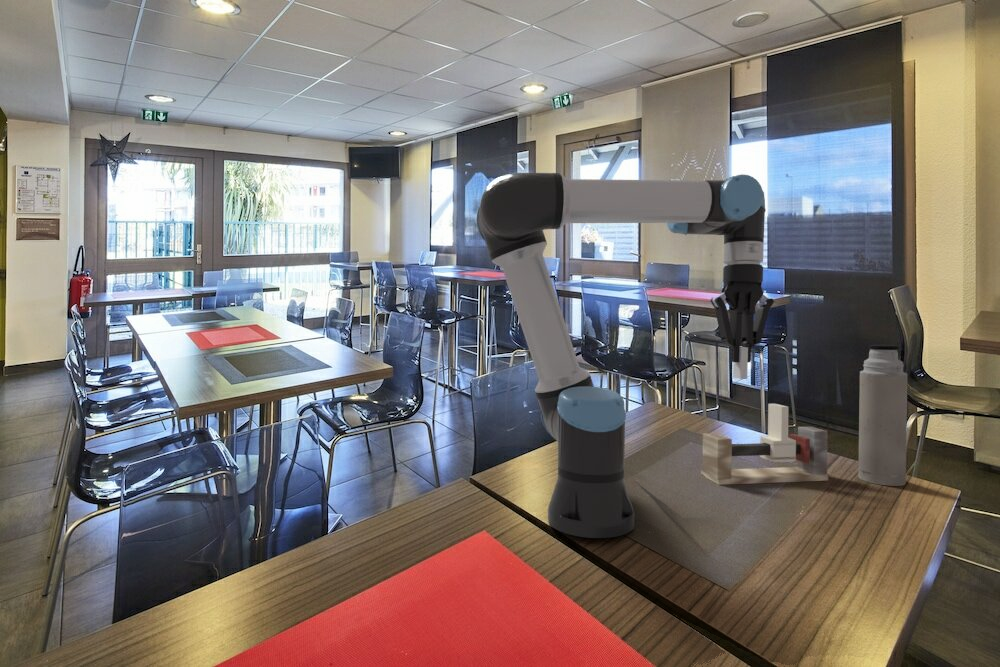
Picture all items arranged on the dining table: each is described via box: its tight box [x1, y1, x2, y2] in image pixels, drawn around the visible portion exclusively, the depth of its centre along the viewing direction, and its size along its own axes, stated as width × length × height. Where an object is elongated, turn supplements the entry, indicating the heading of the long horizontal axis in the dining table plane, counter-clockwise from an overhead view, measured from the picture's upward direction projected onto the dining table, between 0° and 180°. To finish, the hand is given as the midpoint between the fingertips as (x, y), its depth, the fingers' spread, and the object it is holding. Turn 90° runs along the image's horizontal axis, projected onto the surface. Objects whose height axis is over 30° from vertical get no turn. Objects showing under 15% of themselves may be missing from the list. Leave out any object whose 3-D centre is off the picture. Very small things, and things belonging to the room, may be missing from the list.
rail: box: [700, 426, 829, 486], centre depth 112 cm, size 24×7×10 cm, turn 97°
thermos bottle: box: [857, 344, 908, 487], centre depth 110 cm, size 8×8×28 cm
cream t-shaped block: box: [759, 403, 797, 463], centre depth 112 cm, size 5×4×11 cm
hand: (740, 378), depth 111 cm, fingers closed
